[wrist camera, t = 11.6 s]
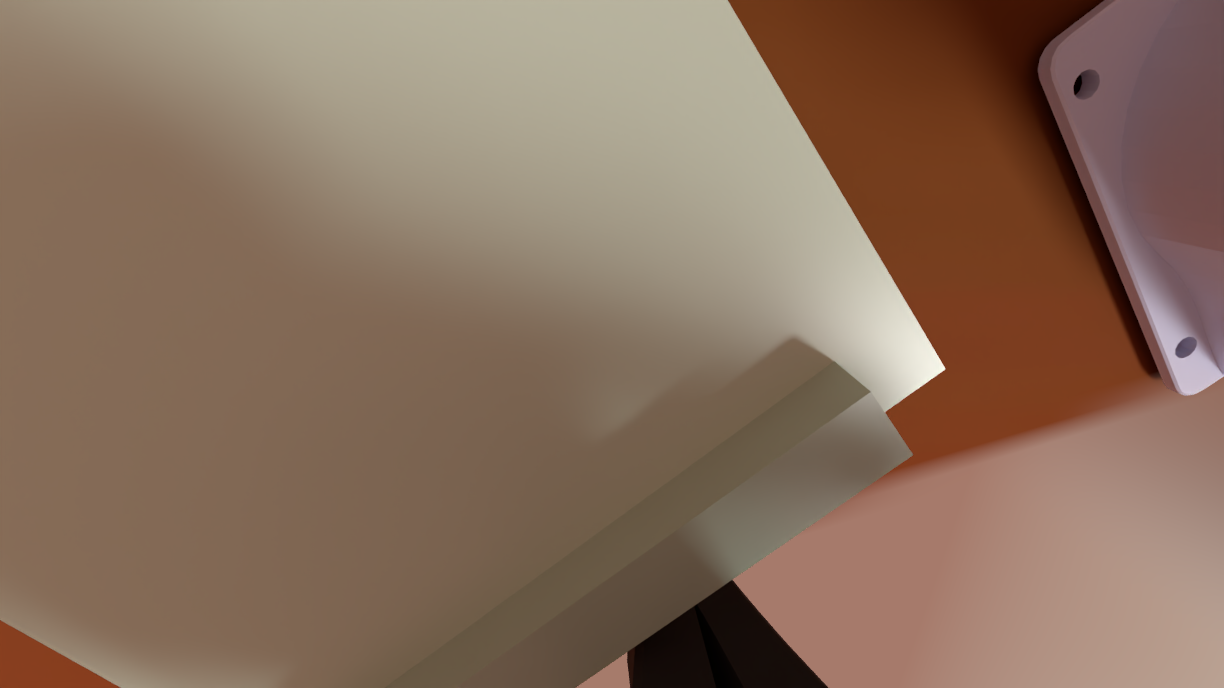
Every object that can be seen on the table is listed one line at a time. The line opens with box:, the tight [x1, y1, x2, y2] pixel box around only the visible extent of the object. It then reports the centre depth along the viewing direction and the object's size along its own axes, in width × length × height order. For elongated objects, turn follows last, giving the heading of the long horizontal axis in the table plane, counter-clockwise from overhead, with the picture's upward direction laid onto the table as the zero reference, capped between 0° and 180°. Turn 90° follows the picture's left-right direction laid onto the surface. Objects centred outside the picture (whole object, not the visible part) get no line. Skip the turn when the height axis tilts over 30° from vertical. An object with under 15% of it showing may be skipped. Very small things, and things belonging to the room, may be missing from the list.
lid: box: [0, 0, 945, 688], centre depth 5 cm, size 14×10×2 cm
